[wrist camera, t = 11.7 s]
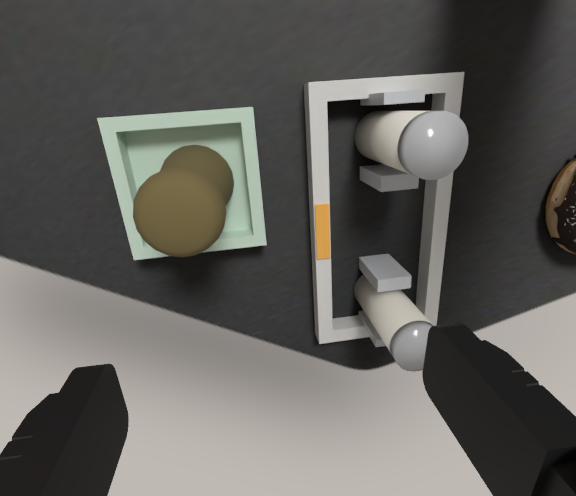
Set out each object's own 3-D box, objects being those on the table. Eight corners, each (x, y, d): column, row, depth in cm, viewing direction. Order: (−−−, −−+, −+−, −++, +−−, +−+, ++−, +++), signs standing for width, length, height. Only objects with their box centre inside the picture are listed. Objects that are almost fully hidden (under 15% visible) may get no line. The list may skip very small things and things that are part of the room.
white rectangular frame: (303, 84, 28) (317, 79, 23) (450, 74, 29) (490, 67, 24) (315, 332, 37) (326, 364, 32) (426, 316, 38) (452, 345, 34)
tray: (108, 117, 27) (97, 118, 25) (251, 107, 28) (252, 106, 26) (141, 249, 31) (133, 260, 29) (264, 235, 32) (266, 245, 30)
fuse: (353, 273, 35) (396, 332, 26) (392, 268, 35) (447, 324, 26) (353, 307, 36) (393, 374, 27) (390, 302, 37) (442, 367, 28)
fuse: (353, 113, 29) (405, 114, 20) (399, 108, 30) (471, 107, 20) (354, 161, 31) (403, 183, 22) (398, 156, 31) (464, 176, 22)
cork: (207, 230, 31) (193, 291, 20) (144, 189, 29) (94, 234, 18) (248, 175, 29) (254, 210, 19) (185, 128, 27) (155, 139, 17)
